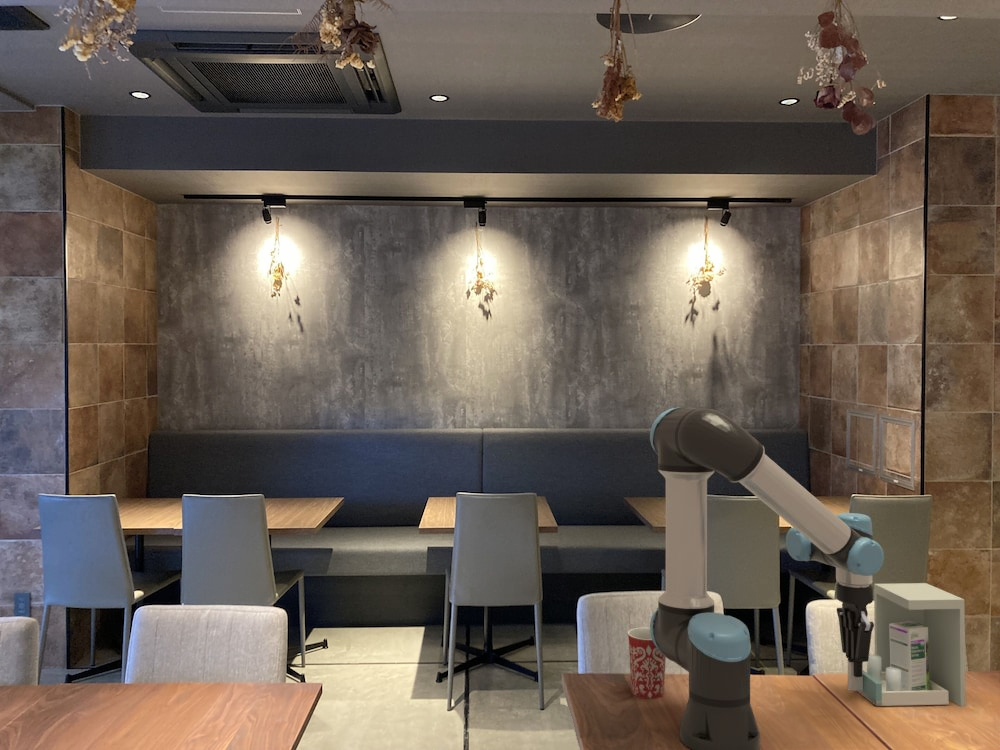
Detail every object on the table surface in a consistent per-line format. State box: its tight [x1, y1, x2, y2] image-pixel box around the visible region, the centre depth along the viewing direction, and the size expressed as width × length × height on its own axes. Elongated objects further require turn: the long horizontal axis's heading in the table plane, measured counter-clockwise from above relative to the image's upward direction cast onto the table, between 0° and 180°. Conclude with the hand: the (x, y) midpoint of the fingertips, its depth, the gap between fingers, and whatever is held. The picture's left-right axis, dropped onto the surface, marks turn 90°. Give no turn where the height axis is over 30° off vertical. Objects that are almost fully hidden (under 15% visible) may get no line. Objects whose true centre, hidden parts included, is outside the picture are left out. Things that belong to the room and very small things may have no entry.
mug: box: [627, 627, 667, 699], centre depth 192 cm, size 13×9×14 cm
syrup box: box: [889, 621, 930, 691], centre depth 189 cm, size 6×6×14 cm
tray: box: [857, 654, 950, 707], centre depth 188 cm, size 16×13×7 cm
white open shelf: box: [873, 582, 966, 707], centre depth 189 cm, size 12×15×23 cm
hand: (855, 689), depth 188 cm, fingers closed
